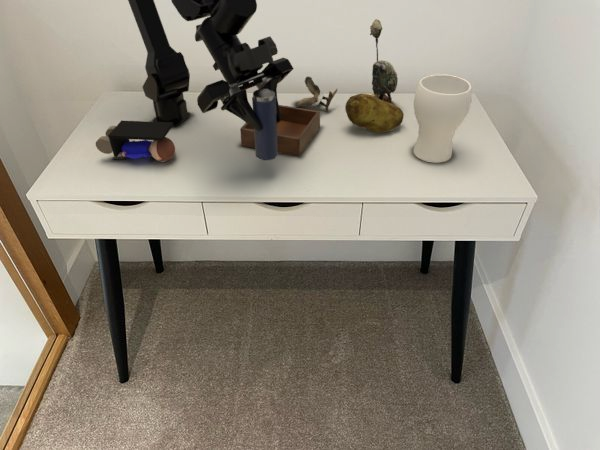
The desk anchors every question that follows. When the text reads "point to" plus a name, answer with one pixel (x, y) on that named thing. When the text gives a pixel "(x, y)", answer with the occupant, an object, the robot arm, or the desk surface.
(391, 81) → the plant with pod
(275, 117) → the can
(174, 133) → the desk surface
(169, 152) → the figurine character
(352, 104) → the potato
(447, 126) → the cup
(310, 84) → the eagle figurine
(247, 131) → the desk bin
